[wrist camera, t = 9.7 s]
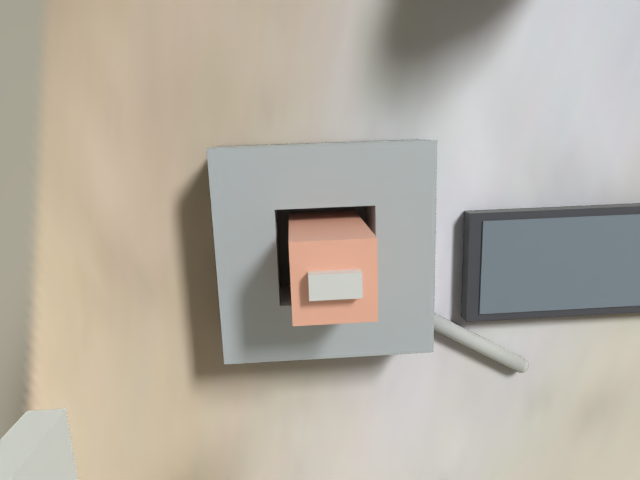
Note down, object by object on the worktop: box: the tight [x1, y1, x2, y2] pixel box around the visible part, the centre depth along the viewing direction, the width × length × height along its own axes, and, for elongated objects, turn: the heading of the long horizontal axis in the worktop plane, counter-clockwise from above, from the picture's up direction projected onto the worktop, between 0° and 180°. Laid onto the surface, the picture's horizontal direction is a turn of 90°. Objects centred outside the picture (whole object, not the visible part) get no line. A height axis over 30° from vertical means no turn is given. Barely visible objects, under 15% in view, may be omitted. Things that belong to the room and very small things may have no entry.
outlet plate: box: [207, 139, 437, 364], centre depth 29 cm, size 12×12×4 cm
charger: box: [288, 210, 378, 326], centre depth 26 cm, size 4×4×9 cm
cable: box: [434, 313, 529, 373], centre depth 32 cm, size 9×1×1 cm, turn 62°
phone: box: [461, 203, 640, 322], centre depth 31 cm, size 7×14×1 cm, turn 92°
